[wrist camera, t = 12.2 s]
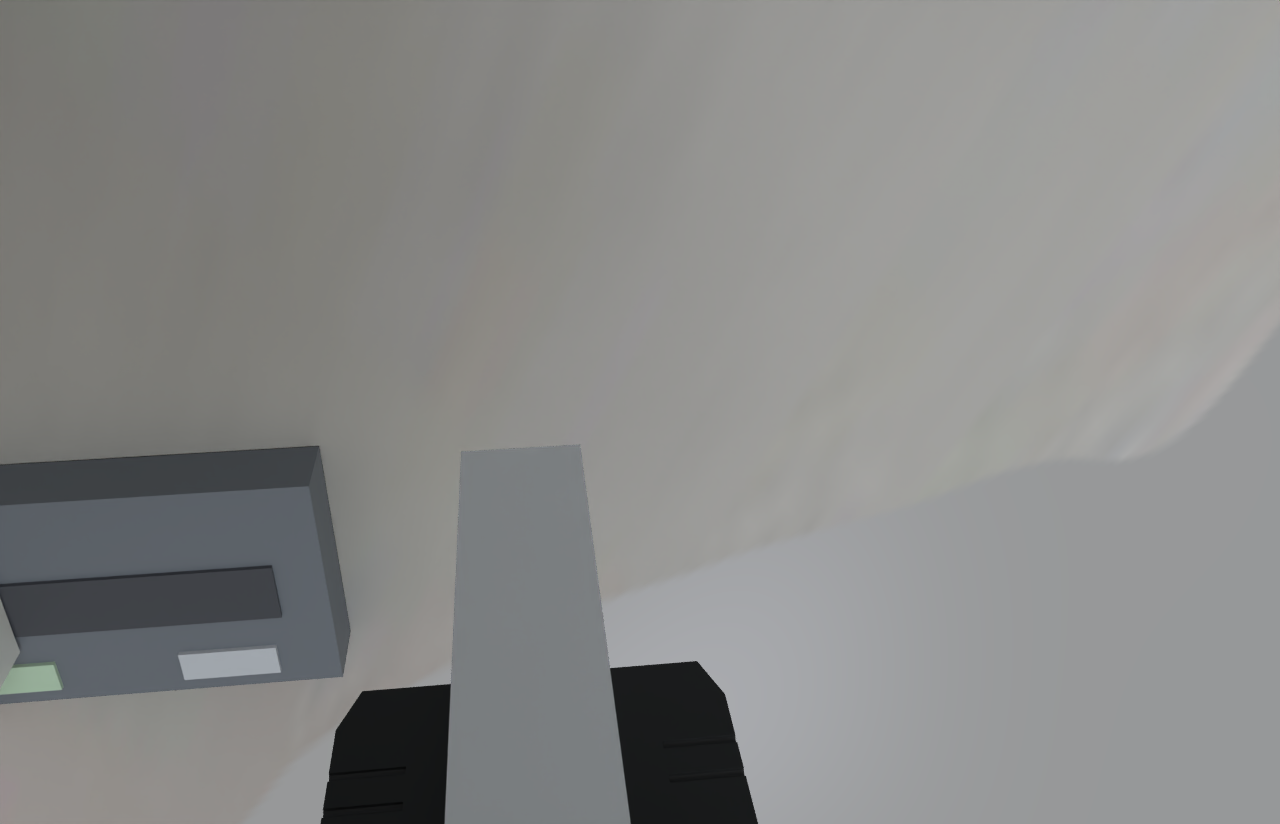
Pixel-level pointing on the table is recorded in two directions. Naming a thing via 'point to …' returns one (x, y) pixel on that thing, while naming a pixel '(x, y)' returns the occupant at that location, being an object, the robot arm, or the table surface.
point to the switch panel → (169, 573)
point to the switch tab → (6, 646)
